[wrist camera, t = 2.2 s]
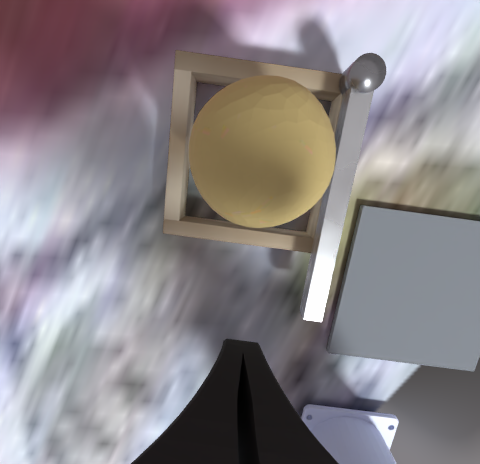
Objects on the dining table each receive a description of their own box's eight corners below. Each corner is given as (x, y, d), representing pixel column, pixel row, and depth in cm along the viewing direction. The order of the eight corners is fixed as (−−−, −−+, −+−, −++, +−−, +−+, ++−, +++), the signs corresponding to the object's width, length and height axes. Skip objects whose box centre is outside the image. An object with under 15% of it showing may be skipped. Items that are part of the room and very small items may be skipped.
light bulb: (195, 132, 19) (142, 92, 9) (284, 97, 18) (332, 13, 8) (228, 218, 20) (213, 266, 10) (311, 188, 19) (381, 209, 10)
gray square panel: (468, 366, 22) (474, 371, 22) (326, 349, 22) (328, 352, 22) (522, 226, 20) (529, 228, 19) (360, 204, 20) (363, 205, 19)
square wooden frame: (316, 246, 20) (324, 254, 18) (170, 227, 20) (162, 233, 18) (349, 87, 18) (362, 76, 16) (183, 63, 18) (175, 50, 16)
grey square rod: (319, 310, 19) (327, 325, 17) (294, 307, 19) (299, 321, 17) (373, 68, 15) (390, 55, 14) (342, 64, 15) (355, 50, 14)
